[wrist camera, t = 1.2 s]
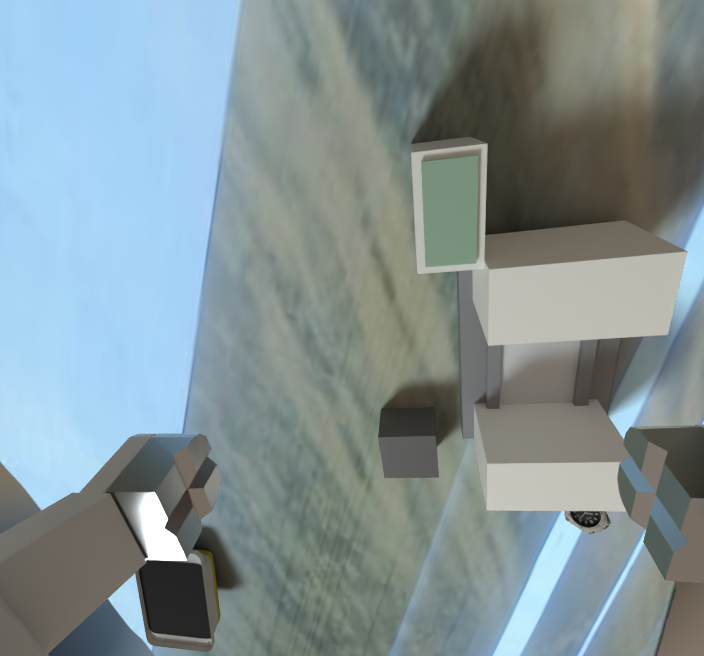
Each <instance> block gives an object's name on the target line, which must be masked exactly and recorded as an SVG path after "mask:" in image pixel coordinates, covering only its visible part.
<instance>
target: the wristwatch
mask: <svg viewBox="0 0 704 656" xmlns="http://www.w3.org/2000/svg"><path fill="white" fill-rule="evenodd" d="M565 518H566V520H567V521H569V522H570V523H571V524H573V525H575V526H576V527H578V528H579V529H581V530H582V531H584V532H586V533H589V534H591V533H598V532H601V531H602V530H604V529H606V528H608V527H609V525H610V523H611V522H610V519H609V517H608V515H607V513H606V511H565Z"/></svg>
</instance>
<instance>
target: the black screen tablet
mask: <svg viewBox="0 0 704 656" xmlns="http://www.w3.org/2000/svg"><path fill="white" fill-rule="evenodd" d="M146 561H147V562H146V563H145V564H144V565H143V566H142V567H141V568H140V569H139V570H138V571H137V572H136V573H135V575H136V581H137V586H138V592H139V598H140V603H141V609H142V615H143V621H144V626H145V632H146V638H147V640H148V642H149V643H150V644H151V645H154V646H161V647H169V648H178V649H187V650H196V651H204V652H208V651H210V650H211V649H212V647H213V645H214V631H215V629H216V626H217V624H218V622H219V619H220V608H219V600H218V592H217V584H216V576H215V568H214V560H213V555H212V553H211V552H210V551H207V550H196V549H192V551H191V553H190V555H189V556H188V558H187V560H146Z"/></svg>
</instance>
